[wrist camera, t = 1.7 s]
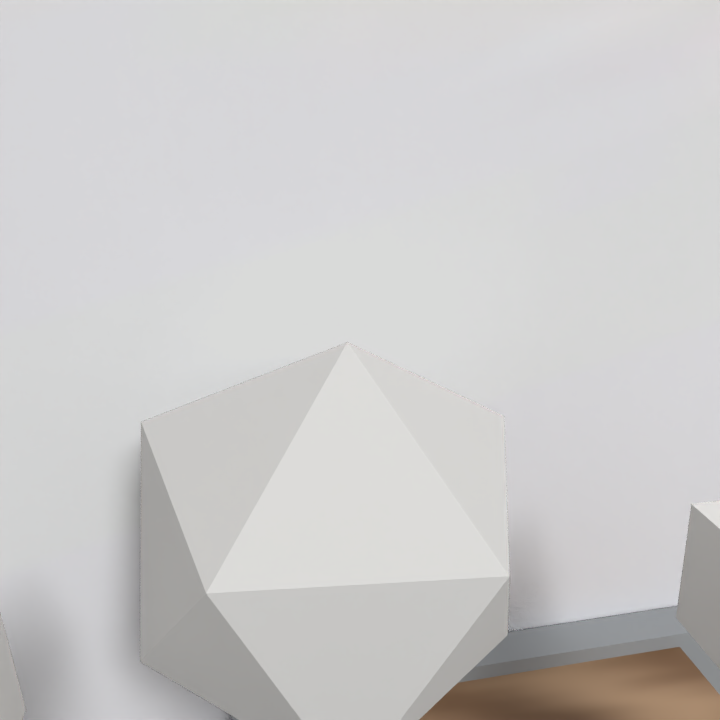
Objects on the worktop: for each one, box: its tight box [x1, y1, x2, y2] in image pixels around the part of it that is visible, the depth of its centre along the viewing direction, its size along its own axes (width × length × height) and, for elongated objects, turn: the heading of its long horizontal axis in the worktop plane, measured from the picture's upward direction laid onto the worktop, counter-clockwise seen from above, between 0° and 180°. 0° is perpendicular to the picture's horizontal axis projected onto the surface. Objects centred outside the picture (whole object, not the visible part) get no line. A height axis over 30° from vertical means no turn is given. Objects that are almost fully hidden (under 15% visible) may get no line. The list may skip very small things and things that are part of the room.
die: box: [140, 342, 510, 720], centre depth 15 cm, size 8×9×10 cm
